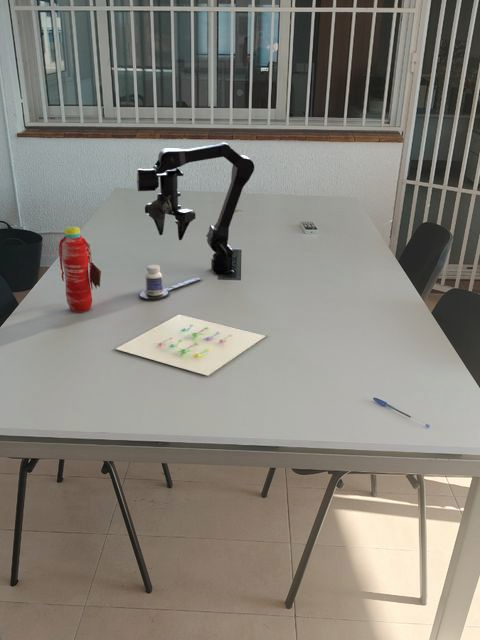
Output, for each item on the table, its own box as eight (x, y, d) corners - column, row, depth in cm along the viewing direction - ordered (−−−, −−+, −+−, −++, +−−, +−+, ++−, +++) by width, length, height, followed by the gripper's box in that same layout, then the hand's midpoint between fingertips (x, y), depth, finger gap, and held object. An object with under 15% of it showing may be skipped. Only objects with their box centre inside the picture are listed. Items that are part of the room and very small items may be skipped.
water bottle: (105, 304, 220) (99, 223, 207) (104, 313, 213) (96, 230, 200) (66, 304, 219) (57, 224, 206) (63, 314, 212) (54, 231, 199)
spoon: (190, 277, 243) (190, 275, 242) (207, 282, 238) (207, 280, 238) (134, 296, 226) (134, 294, 225) (152, 302, 221) (151, 300, 221)
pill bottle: (165, 294, 225) (164, 267, 221) (150, 297, 223) (149, 270, 219) (158, 289, 229) (157, 263, 225) (143, 292, 227) (142, 265, 223)
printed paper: (207, 376, 176) (207, 371, 176) (115, 349, 190) (114, 345, 189) (265, 337, 198) (266, 332, 198) (179, 315, 212) (178, 310, 211)
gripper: (131, 189, 230) (134, 237, 238) (172, 198, 220) (173, 247, 228) (155, 184, 238) (157, 230, 246) (196, 192, 227) (196, 240, 235)
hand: (170, 237), depth 238 cm, fingers open, 9 cm apart
